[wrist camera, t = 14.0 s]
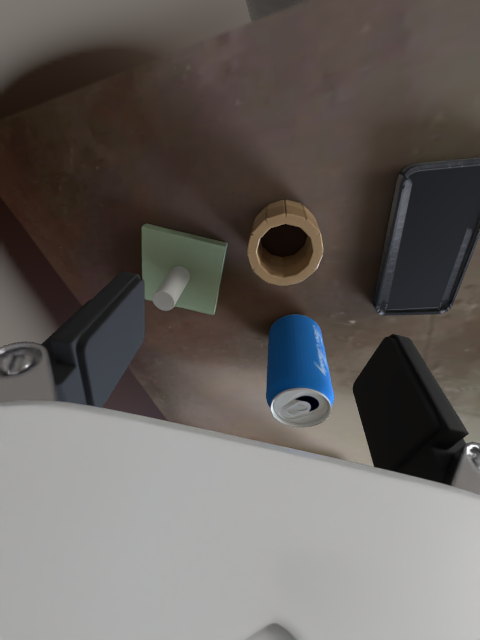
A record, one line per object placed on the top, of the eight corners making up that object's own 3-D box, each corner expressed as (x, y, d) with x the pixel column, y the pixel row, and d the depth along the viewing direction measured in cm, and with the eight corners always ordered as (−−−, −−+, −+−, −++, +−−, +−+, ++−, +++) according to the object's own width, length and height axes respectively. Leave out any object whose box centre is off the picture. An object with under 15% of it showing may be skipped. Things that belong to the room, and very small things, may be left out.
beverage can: (330, 333, 35) (350, 413, 25) (291, 357, 38) (295, 437, 28) (297, 301, 33) (305, 375, 23) (258, 330, 36) (251, 405, 26)
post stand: (145, 223, 30) (114, 246, 24) (227, 242, 30) (215, 270, 24) (145, 293, 35) (120, 326, 29) (215, 310, 35) (203, 345, 29)
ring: (260, 193, 27) (257, 205, 22) (326, 209, 27) (335, 224, 23) (245, 256, 30) (240, 276, 26) (303, 270, 31) (307, 292, 26)
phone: (374, 315, 31) (404, 166, 23) (371, 310, 32) (399, 165, 24) (450, 313, 30) (512, 156, 22) (445, 308, 31) (503, 154, 23)
